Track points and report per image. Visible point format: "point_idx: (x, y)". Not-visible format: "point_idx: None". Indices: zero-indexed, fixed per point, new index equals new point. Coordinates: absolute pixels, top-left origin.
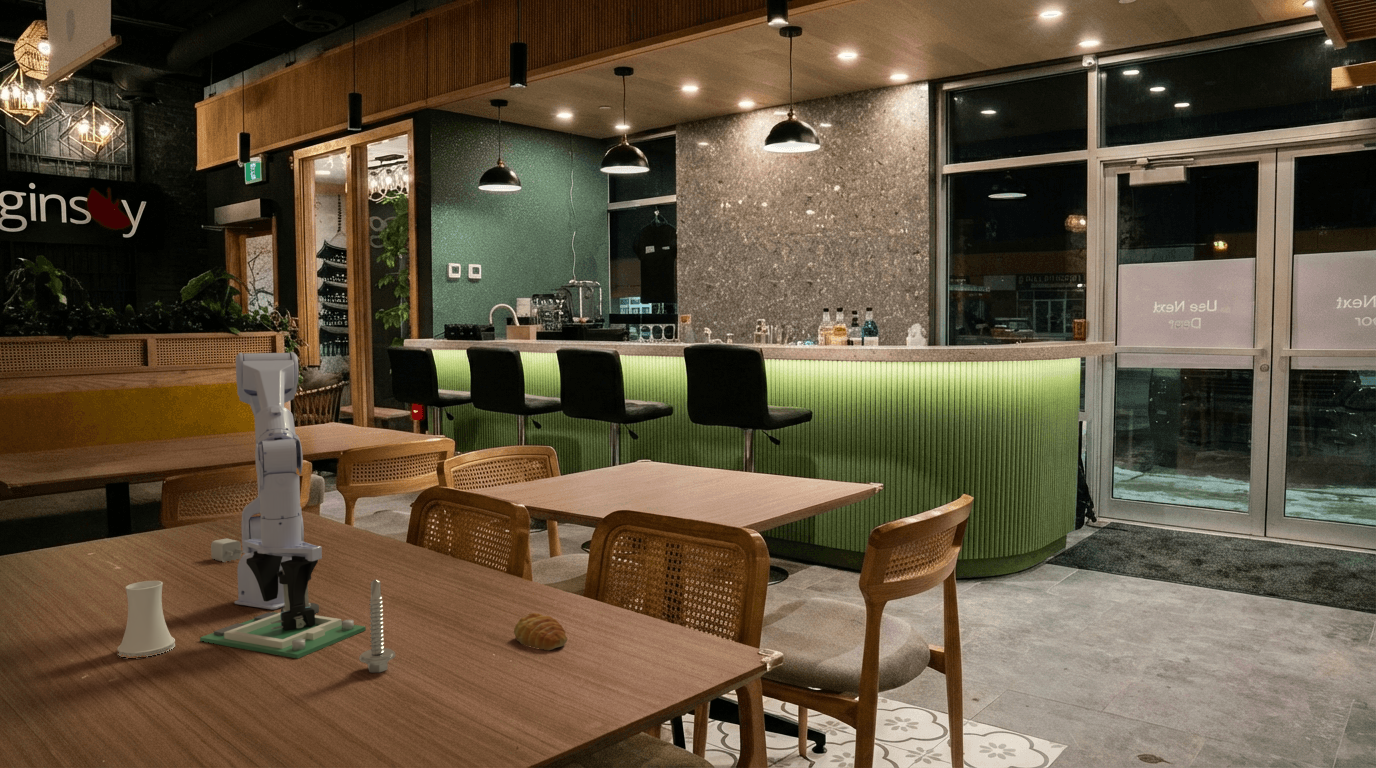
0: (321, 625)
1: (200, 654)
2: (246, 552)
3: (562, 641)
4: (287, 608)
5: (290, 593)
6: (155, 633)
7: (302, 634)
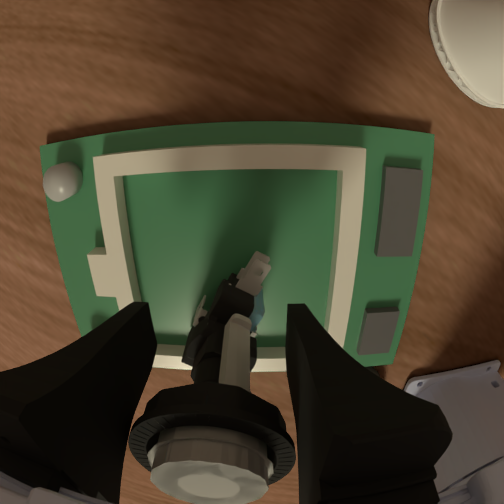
0: None
1: (331, 40)
2: (490, 470)
3: None
4: (228, 325)
5: (111, 322)
6: (475, 10)
7: (104, 237)
